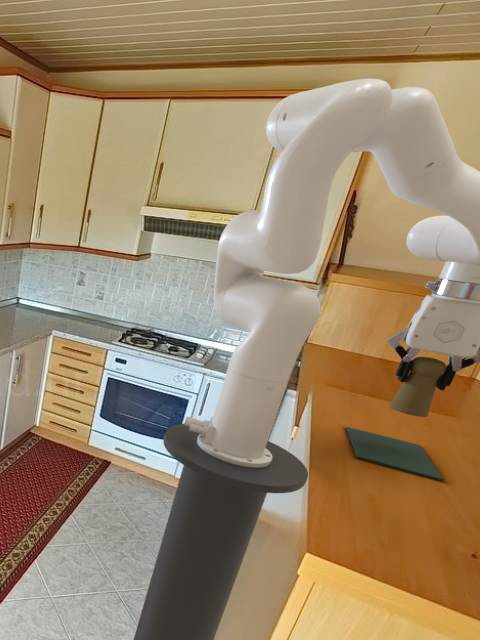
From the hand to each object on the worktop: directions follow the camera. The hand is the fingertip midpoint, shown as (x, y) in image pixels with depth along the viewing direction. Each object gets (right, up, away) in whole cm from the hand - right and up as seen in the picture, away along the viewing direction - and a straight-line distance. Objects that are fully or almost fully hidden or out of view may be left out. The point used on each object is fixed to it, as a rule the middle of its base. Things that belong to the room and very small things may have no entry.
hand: (420, 383), depth 95 cm
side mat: (-1, -14, +5) cm, 15 cm away
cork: (-1, -6, +2) cm, 6 cm away
